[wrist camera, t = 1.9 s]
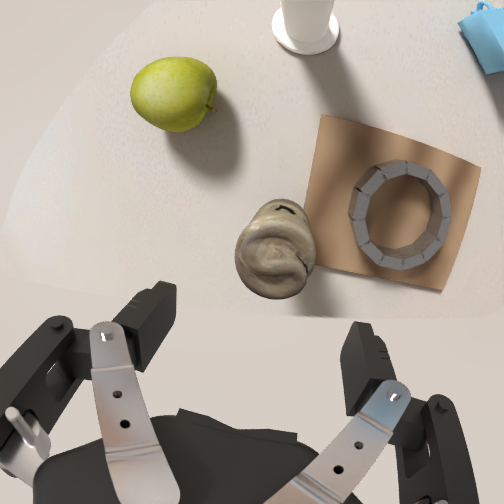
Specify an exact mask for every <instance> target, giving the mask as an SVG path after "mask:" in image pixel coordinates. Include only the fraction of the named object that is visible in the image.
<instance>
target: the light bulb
mask: <svg viewBox="0 0 504 504" xmlns="http://www.w3.org/2000/svg"><path fill="white" fill-rule="evenodd" d="M315 261H316V248H315V242H314V239H313V236H312V234H311V232H310V224H309V220H308V217H307V215H306V213H305V212H304V210H303V209H302V208H301V207H300V206H299V205H298V204H296V203H295V202H293V201H290V200H287V199H275V200H272V201H270V202H268V203H266V204H265V205H264V206H262V207H261V208H260V209H259V210H258V212H257V213H256V214H255V216H254V218H253V220H252V221H251V222H250V224H249V225H248V226H247V227H246V228H245V229H244V230H243V232H242V233H241V235H240V236H239V239H238V242H237V245H236V249H235V264H236V269H237V272H238V274H239V276H240V278H241V280H242V282H243V283H244V284H245V286H246V287H247V288H249V289H250V290H251V291H252V292H254V293H256V294H257V295H259V296H261V297H265V298H268V299H286V298H290V297H292V296H294V295H297V294H298V293H299V292H300V291H301V290H302V289H303V288H304V286H305V285H306V280H307V278H308V276H309V275H310V274H311V272H312V271H313V268H314V265H315Z"/></svg>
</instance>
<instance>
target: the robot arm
mask: <svg viewBox="0 0 504 504" xmlns="http://www.w3.org/2000/svg"><path fill="white" fill-rule="evenodd" d="M176 292H177V288H176V285H175V284H172V283H168V282H164V281H159V282H158V283H157V284H156V285H155V286H154V287H153V288H152V289H148V288H147V289H145V290H143V291H140V292H138V293H137V294H136V295H135V296H134V297H133V298H132V300H131V301H130V302H129V303H128V304H127V305H126V306H125V307H124V308H123V309H122V310H121V312H119V314H118V315H117V316H116V317H115V318H114V319H113V320H112V321H111V322H109V321H106V322H100V323H98V324H96V325H94V326H93V327H92V328H91V330H86V329H77V328H74V327H73V323H72V321H71V320H70V319H69V318H68V317H66V316H60V315H59V316H53V317H51V318H48V319H47V320H46V321H45V322H44V323H43V324H42V325H41V326H40V327H39V328H38V329H37V330H36V331H35V332H34V333H33V334H32V335H31V336H30V337H29V338H28V339H27V340H26V341H25V342H24V343H23V344H22V345H21V347H19V348H18V349H17V351H16V352H15V353H14V354H13V355H12V356H11V357H10V358H9V359H8V360H7V361H6V363H5V364H4V365H3V366H2V367H1V368H0V468H1V469H2V470H3V471H4V472H5V473H7V474H8V475H9V476H11V477H15V478H19V479H20V480H22V481H23V482H24V483H26V484H27V485H29V486H30V487H32V488H33V504H363V503H362V502H361V501H360V500H359V499H358V498H357V497H356V496H355V495H354V493H352V491H353V490H354V489H355V487H356V486H357V485H358V484H359V482H360V481H361V480H362V478H363V477H364V476H365V474H366V473H367V472H368V470H369V469H370V467H371V466H372V465H373V463H374V462H375V461H376V459H377V458H378V456H379V455H380V453H381V452H382V450H383V449H384V447H385V446H386V444H387V443H388V444H392V445H395V450H396V458H397V470H398V482H399V499H400V504H479V498H478V493H477V487H476V482H475V478H474V473H473V468H472V464H471V460H470V456H469V452H468V448H467V445H466V441H465V437H464V434H463V431H462V428H461V424H460V421H459V418H458V415H457V412H456V409H455V406H454V404H453V402H452V401H451V400H450V399H449V398H447V397H446V396H444V395H440V394H436V395H433V396H431V397H430V398H429V400H428V401H427V402H426V401H422V400H419V399H416V398H413V397H411V393H410V391H409V389H408V388H407V387H406V386H405V385H404V384H402V383H401V382H398V381H397V379H396V375H395V372H394V369H393V366H392V363H391V360H390V357H389V354H388V351H387V348H386V345H385V343H384V342H383V340H382V339H381V338H380V337H379V336H375V335H374V332H373V329H372V326H371V324H369V323H362V322H356V321H355V322H353V324H352V326H351V328H350V331H349V333H348V336H347V338H346V340H345V343H344V345H343V347H342V350H341V356H340V362H341V370H342V378H343V386H344V395H345V405H346V415H347V416H354V417H353V419H352V420H351V421H350V422H349V423H348V424H347V426H346V427H345V428H344V429H343V430H342V431H341V432H340V433H339V435H337V437H336V438H335V439H334V440H333V441H332V442H331V443H330V444H329V445H328V446H327V447H326V449H324V450H323V451H322V452H321V453H320V454H318V452H316V451H315V450H313V449H312V448H310V447H309V446H307V445H305V444H303V443H301V442H298V441H297V433H293V432H286V431H279V430H272V429H245V430H244V429H243V430H242V429H241V430H240V429H235V428H232V427H230V426H228V425H226V424H223V423H221V422H219V421H217V420H215V419H213V418H211V417H209V416H206V415H202V414H198V413H194V412H191V411H187V410H184V409H181V408H180V409H179V411H178V413H177V415H176V416H174V415H164V416H156V417H152V418H149V415H148V412H147V409H146V406H145V403H144V400H143V397H142V393H141V390H140V387H139V384H138V380H137V377H136V373H135V370H137V371H140V372H144V371H145V369H146V367H147V366H148V364H149V363H150V361H151V359H152V357H153V356H154V354H155V353H156V351H157V350H158V348H159V346H160V345H161V343H162V342H163V340H164V338H165V337H166V335H167V334H168V332H169V331H170V329H171V327H172V326H173V324H174V321H175V317H176ZM54 363H55V365H54ZM53 365H54V366H53ZM52 366H53V367H52ZM51 367H52V369H51V370H50V368H51ZM49 370H50V371H49ZM48 371H49V372H48ZM47 373H48V374H47ZM84 379H86V380H92V383H93V390H94V397H95V403H96V409H97V414H98V420H99V424H100V429H101V434H102V438H101V439H98V440H96V441H93V442H90V443H88V444H85V445H83V446H80V447H77V448H74V449H72V450H69V451H66V452H63V453H60V454H57V455H54V456H52V457H49V451H50V447H51V442H50V438H49V436H48V435H49V433H50V431H51V430H52V428H53V427H54V425H55V423H56V422H57V420H58V418H59V417H60V415H61V414H62V412H63V410H64V409H65V407H66V406H67V404H68V403H69V401H70V399H71V398H72V397H73V395H74V393H75V392H76V390H77V389H78V387H79V386H80V384H81V383H82V381H83V380H84ZM427 444H428V445H429V449H430V456H429V451H428V445H427ZM48 457H49V458H48Z"/></svg>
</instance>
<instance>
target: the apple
mask: <svg viewBox="0 0 504 504" xmlns="http://www.w3.org/2000/svg"><path fill="white" fill-rule="evenodd" d="M216 89H217V80H216V77H215V74H214V73H213V71H212V70H211V69H210V68H209V67H208V66H207V65H206V64H204V63H203V62H201V61H199V60H196V59H193V58H189V57H167V58H163V59H160V60H157V61H154V62H152V63H150V64H149V65H147V66H146V67H144V68H143V69H142V70H141V71H140V72H139V73H138V74H137V75H136V76H135V78H134V80H133V84H132V87H131V91H130V96H131V101H132V105H133V107H134V109H135V110H136V112H137V113H138V114H139V115H140V116H141V117H142V118H144V119H145V120H146V121H148V122H149V123H151V124H152V125H154V126H156V127H158V128H160V129H163V130H166V131H170V132H183V131H188V130H190V129H193V128H195V127H196V126H197V125H198V124H199V123H200V122H201V121H202V119H203V117H204V116H205V114H206V113H207V112H208V110H209V111H211V113H212V114H214V113H216V112H217V109H215V108H213V107H211V105H212V102H213V99H214V95H215V92H216Z"/></svg>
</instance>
